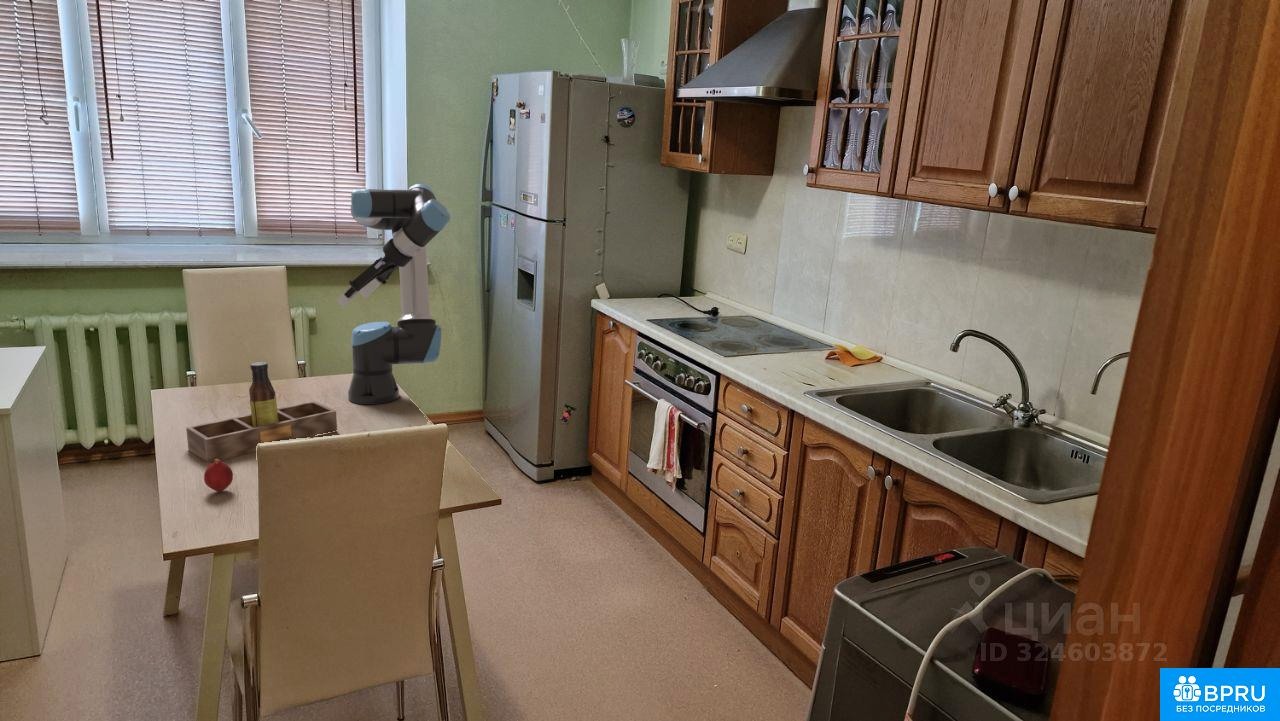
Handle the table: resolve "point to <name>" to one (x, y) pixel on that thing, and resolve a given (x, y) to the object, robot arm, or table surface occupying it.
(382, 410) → the table surface
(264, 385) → the sauce bottle
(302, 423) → the wooden compartment tray
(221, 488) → the onion
